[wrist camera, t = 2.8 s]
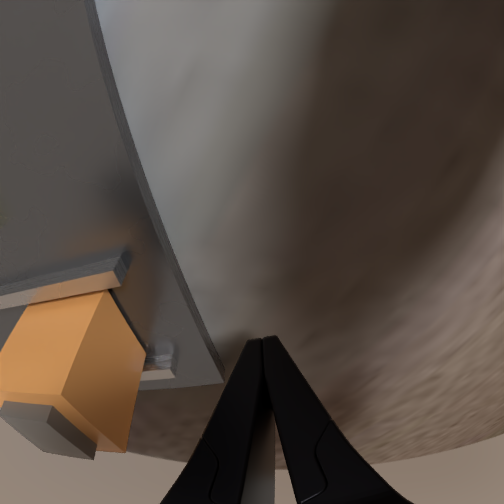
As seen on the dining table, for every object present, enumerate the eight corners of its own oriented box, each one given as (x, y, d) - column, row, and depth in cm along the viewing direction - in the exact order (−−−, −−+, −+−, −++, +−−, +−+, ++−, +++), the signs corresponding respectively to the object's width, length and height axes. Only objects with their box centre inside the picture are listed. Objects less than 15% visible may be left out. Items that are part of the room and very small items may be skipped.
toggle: (106, 287, 10) (54, 413, 6) (146, 353, 12) (122, 468, 8) (30, 301, 11) (-25, 402, 6) (72, 359, 13) (38, 455, 8)
